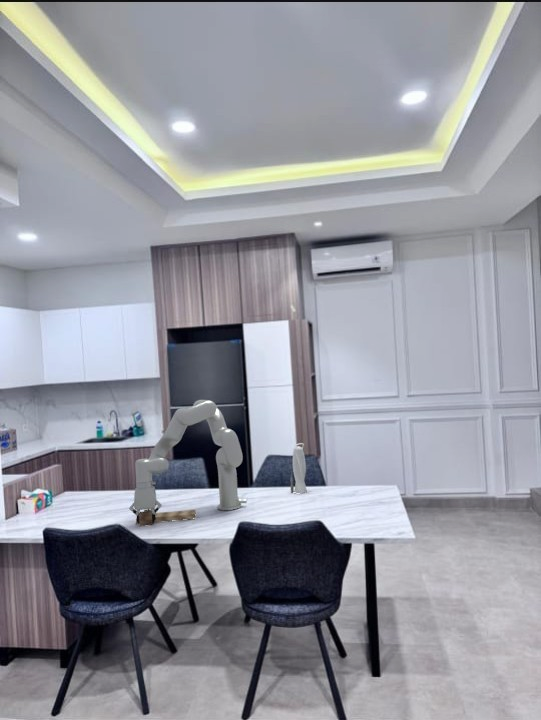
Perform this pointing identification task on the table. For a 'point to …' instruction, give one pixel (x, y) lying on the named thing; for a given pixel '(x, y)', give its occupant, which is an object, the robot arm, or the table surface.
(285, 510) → the table surface
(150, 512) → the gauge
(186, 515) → the board
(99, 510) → the table surface
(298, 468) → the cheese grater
